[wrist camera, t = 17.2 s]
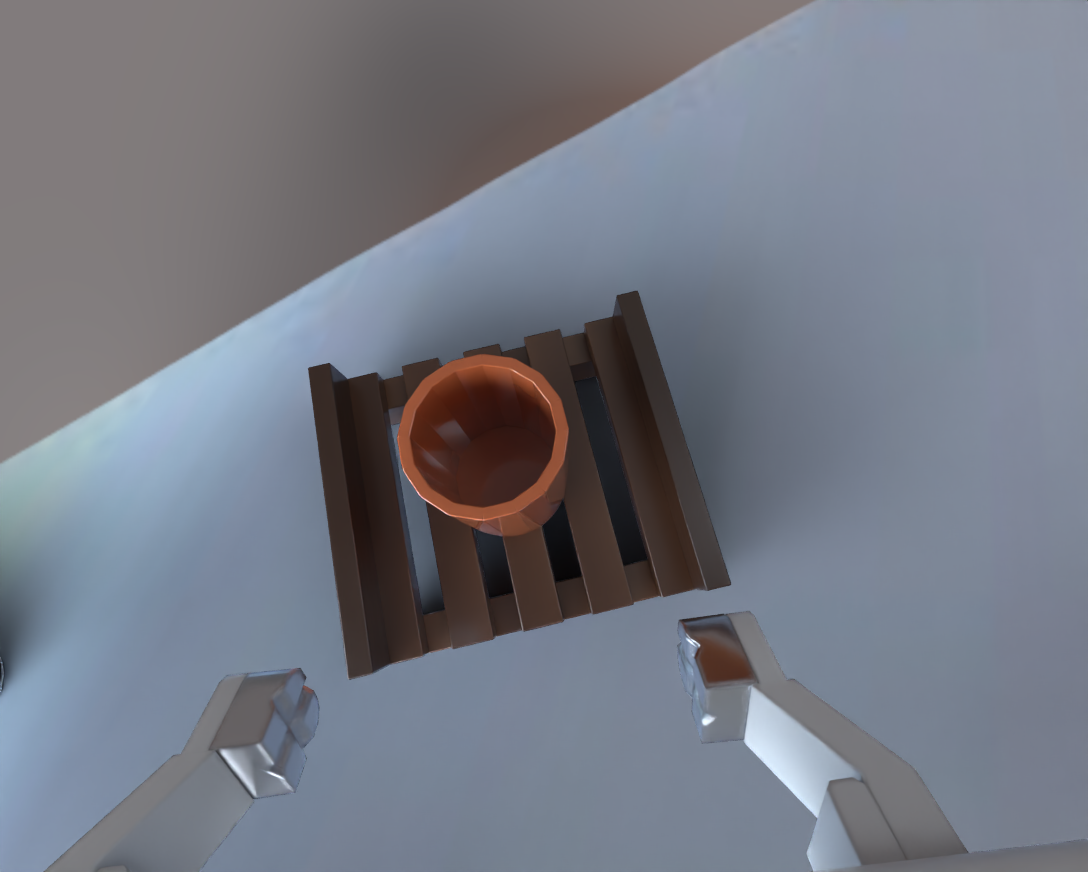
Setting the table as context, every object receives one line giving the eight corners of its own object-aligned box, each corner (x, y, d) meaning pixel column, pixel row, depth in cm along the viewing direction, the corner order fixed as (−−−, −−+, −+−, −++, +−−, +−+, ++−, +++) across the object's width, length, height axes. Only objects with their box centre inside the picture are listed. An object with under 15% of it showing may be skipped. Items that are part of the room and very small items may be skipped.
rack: (624, 341, 29) (638, 289, 23) (697, 582, 25) (732, 584, 20) (354, 405, 28) (307, 367, 23) (393, 657, 25) (347, 680, 20)
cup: (551, 410, 24) (545, 338, 17) (579, 520, 23) (586, 495, 15) (441, 436, 24) (385, 375, 17) (463, 549, 23) (413, 537, 15)
